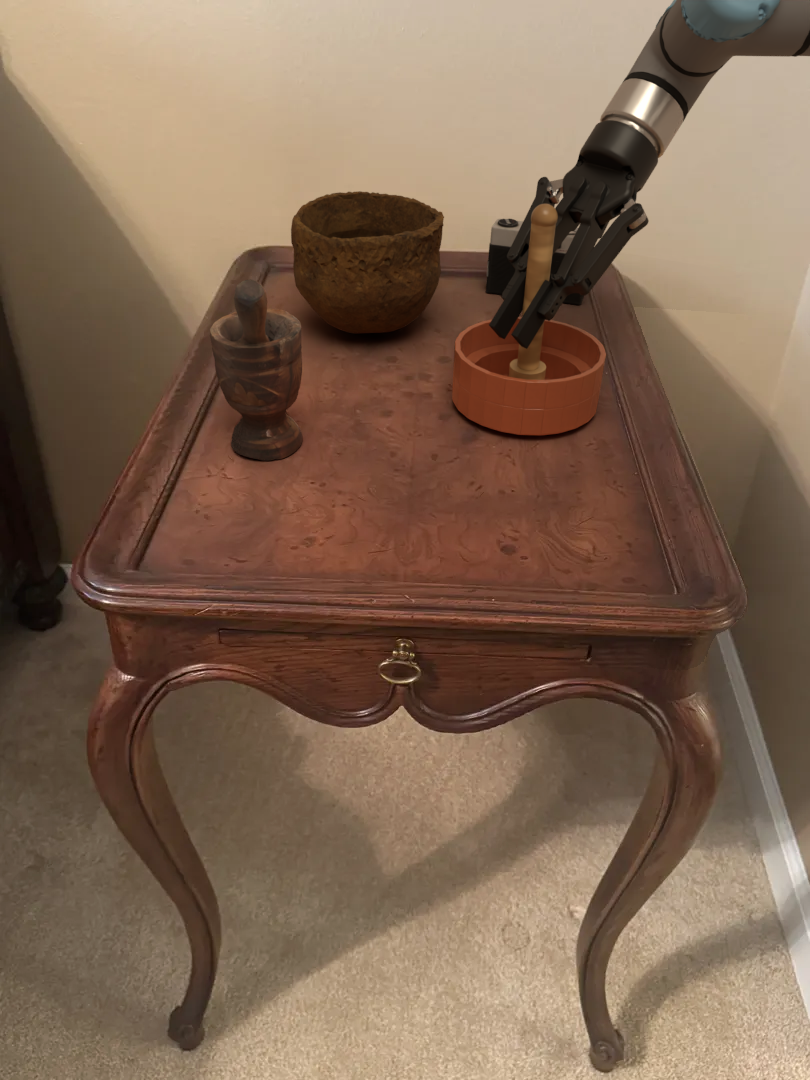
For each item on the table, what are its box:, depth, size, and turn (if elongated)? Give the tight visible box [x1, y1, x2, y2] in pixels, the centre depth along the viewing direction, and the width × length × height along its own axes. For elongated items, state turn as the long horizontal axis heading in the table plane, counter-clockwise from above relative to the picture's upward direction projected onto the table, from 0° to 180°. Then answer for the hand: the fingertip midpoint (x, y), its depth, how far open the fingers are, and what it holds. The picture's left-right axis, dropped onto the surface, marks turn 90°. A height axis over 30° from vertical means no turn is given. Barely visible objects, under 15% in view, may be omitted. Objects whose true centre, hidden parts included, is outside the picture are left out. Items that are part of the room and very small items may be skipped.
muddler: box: [509, 204, 558, 380], centre depth 93 cm, size 4×4×21 cm
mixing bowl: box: [451, 316, 607, 436], centre depth 98 cm, size 16×16×7 cm
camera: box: [485, 218, 585, 306], centre depth 124 cm, size 14×9×10 cm, turn 65°
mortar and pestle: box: [209, 278, 303, 462], centre depth 85 cm, size 12×9×20 cm
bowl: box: [290, 190, 445, 334], centre depth 111 cm, size 19×19×15 cm
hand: (508, 336), depth 92 cm, fingers closed on muddler, 2 cm apart
